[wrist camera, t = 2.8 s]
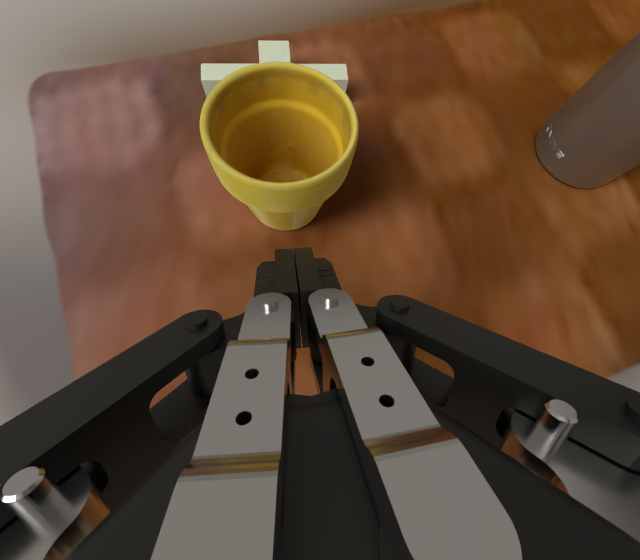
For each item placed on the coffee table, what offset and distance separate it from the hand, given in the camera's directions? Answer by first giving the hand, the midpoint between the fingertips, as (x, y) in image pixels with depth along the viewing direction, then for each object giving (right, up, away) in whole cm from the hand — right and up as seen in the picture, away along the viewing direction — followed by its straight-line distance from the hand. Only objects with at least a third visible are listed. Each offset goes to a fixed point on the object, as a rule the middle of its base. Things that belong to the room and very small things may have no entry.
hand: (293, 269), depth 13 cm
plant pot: (-2, +7, +16) cm, 18 cm away
